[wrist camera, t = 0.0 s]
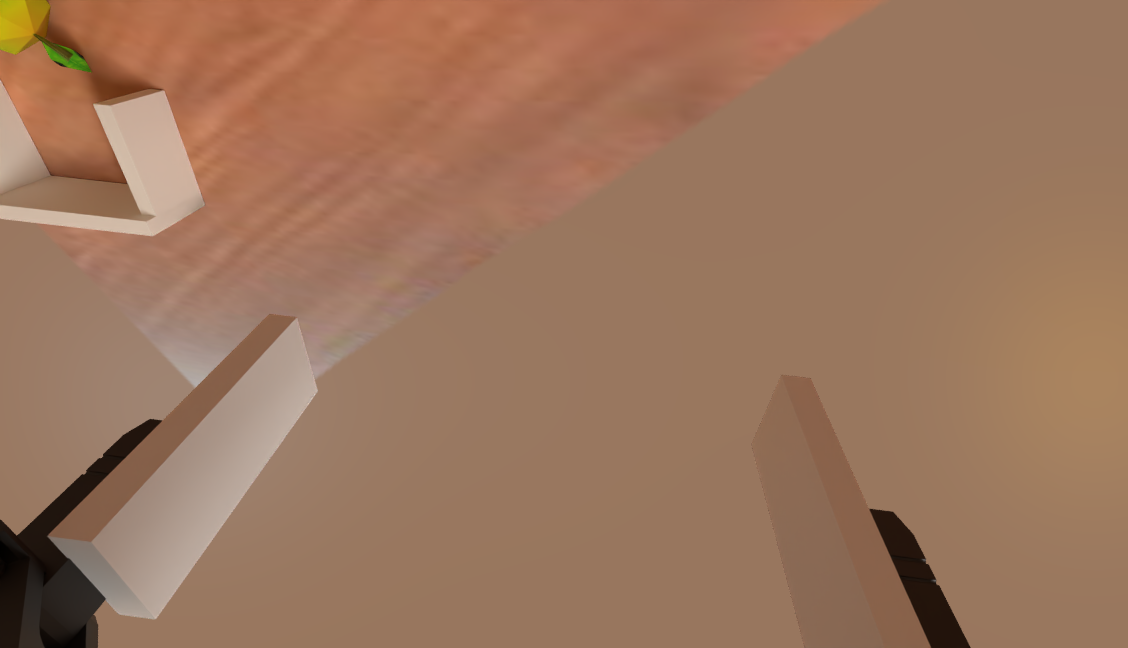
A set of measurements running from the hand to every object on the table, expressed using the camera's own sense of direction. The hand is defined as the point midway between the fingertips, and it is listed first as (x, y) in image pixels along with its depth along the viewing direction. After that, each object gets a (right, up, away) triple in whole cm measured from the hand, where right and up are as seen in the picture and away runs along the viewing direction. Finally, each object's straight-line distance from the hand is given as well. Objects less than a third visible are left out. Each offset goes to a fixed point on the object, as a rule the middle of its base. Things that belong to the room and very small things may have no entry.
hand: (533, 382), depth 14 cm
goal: (-37, +16, +27) cm, 49 cm away
